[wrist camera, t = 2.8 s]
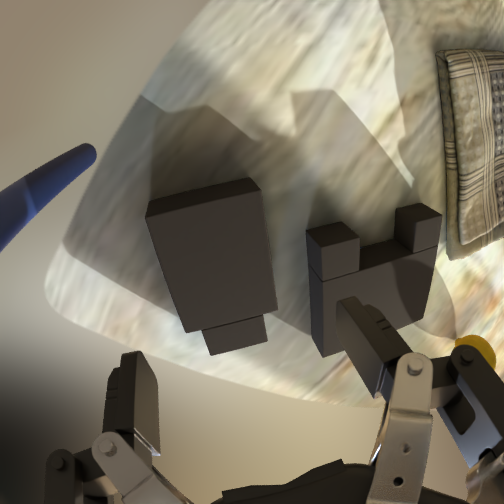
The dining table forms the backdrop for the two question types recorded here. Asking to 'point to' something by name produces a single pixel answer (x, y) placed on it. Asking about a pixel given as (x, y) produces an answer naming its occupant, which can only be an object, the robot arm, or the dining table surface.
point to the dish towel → (473, 147)
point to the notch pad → (372, 272)
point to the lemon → (479, 347)
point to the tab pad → (216, 261)
